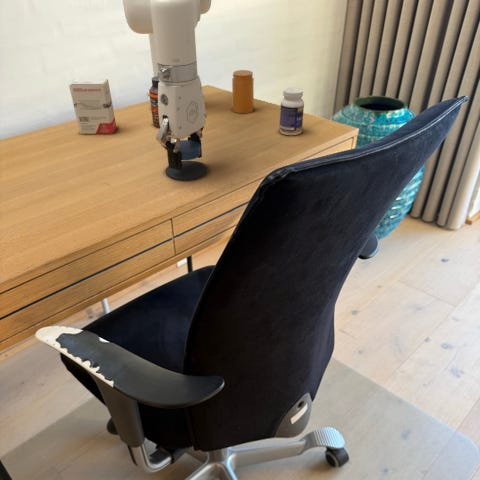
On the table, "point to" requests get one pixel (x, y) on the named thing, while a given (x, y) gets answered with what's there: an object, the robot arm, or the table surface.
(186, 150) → the jar lid
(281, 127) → the pill bottle
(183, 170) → the coaster
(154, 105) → the supplement bottle
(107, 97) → the ink box
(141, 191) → the table surface
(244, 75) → the jar
